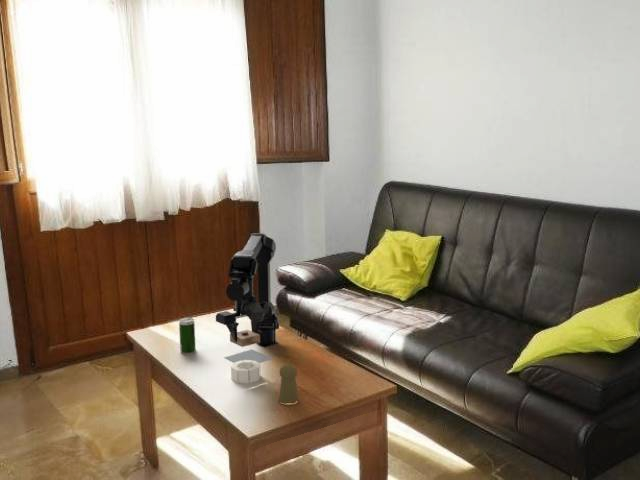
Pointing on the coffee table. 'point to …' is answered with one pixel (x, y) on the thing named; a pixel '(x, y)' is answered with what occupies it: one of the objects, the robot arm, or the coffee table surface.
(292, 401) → the green shaker
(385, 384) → the coffee table surface
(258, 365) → the bowl
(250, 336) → the lid
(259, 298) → the robot arm
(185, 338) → the beer can
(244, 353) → the mat
